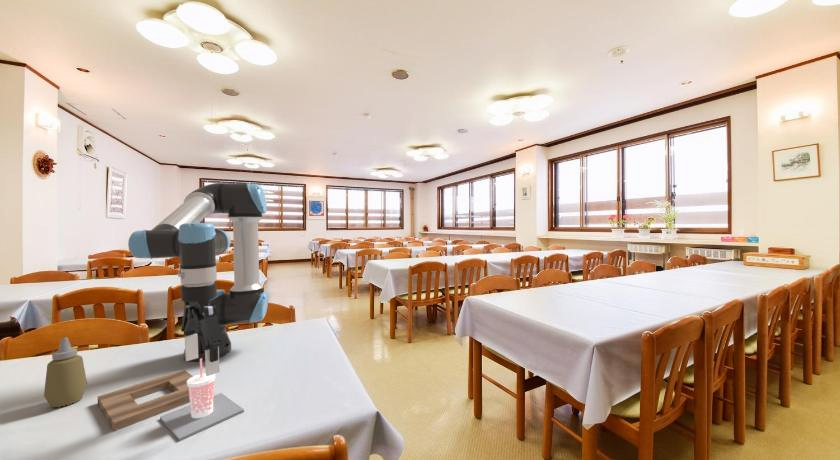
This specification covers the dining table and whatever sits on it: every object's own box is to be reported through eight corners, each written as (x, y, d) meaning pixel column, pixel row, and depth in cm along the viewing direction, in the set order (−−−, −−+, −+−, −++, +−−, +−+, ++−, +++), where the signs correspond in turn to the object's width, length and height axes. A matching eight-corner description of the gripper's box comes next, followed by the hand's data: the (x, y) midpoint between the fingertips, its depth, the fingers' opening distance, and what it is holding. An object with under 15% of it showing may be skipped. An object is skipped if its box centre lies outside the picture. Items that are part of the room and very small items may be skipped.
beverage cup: (221, 409, 84) (220, 356, 83) (197, 422, 78) (195, 365, 78) (207, 404, 86) (205, 352, 86) (182, 416, 81) (180, 361, 80)
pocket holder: (97, 403, 88) (97, 396, 88) (184, 375, 104) (183, 369, 104) (114, 431, 76) (113, 422, 76) (208, 394, 92) (208, 387, 92)
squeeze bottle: (65, 395, 93) (63, 333, 92) (95, 393, 93) (93, 332, 93) (34, 411, 85) (32, 344, 84) (67, 410, 85) (65, 342, 85)
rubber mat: (160, 419, 81) (160, 416, 81) (221, 394, 92) (221, 392, 92) (179, 441, 72) (179, 438, 72) (243, 411, 84) (243, 409, 84)
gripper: (164, 280, 86) (168, 358, 87) (201, 293, 71) (204, 387, 72) (197, 276, 92) (199, 349, 93) (237, 287, 77) (239, 374, 78)
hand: (201, 366), depth 82 cm, fingers open, 13 cm apart
